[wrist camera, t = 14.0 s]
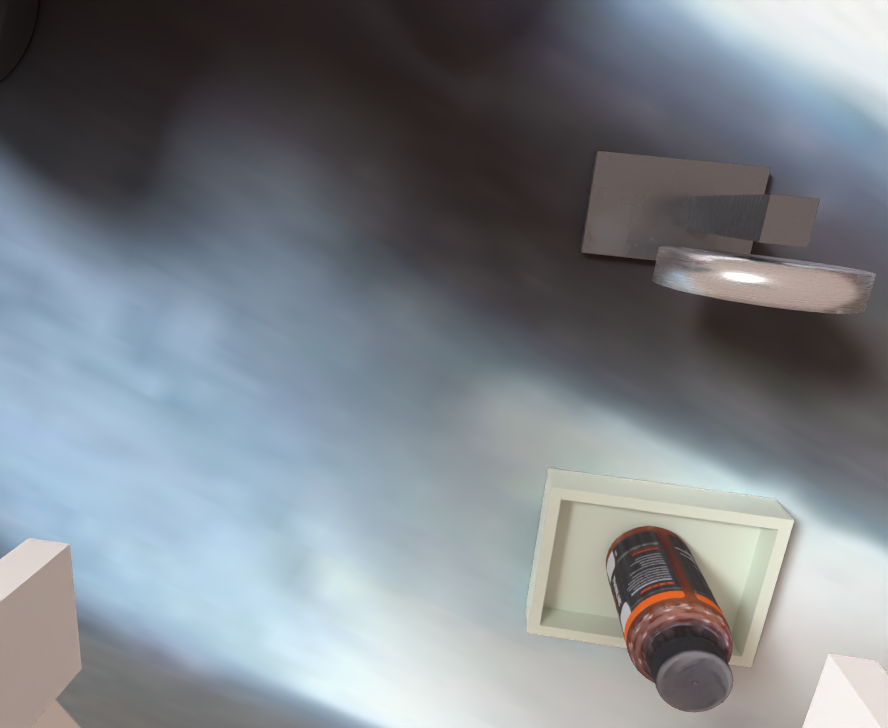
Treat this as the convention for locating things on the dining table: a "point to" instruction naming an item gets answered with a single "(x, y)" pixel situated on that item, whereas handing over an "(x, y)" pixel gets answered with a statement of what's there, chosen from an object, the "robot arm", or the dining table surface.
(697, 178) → the pulley bracket
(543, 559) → the tray
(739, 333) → the dining table surface
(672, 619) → the supplement bottle
